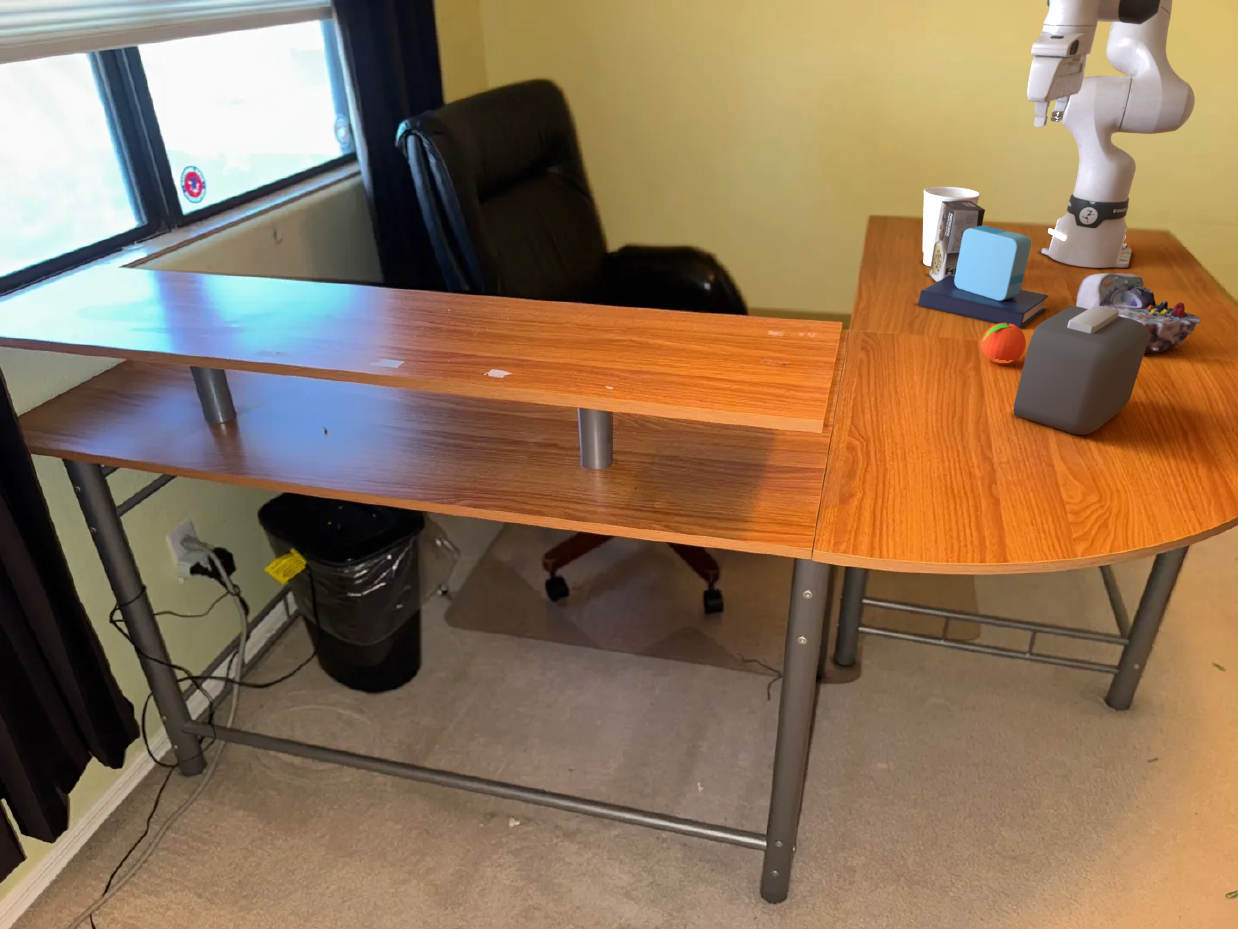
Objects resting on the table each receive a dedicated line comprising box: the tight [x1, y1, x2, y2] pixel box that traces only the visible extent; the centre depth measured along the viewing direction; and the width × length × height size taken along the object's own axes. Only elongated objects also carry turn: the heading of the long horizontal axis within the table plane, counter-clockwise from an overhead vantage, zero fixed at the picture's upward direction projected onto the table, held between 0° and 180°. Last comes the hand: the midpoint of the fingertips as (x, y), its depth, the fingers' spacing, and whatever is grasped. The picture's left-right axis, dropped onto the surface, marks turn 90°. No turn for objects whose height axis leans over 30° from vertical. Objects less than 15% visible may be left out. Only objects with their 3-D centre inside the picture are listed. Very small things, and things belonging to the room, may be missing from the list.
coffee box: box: [929, 201, 986, 283], centre depth 186 cm, size 9×6×16 cm
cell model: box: [1075, 272, 1202, 354], centre depth 157 cm, size 13×11×20 cm
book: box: [917, 275, 1049, 329], centre depth 174 cm, size 14×20×3 cm
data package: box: [954, 225, 1032, 301], centre depth 170 cm, size 12×4×12 cm, turn 34°
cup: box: [922, 186, 981, 267], centre depth 197 cm, size 12×12×16 cm
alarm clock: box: [1013, 305, 1148, 436], centre depth 128 cm, size 16×11×16 cm
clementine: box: [980, 323, 1027, 366], centre depth 147 cm, size 8×7×7 cm
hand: (1047, 123), depth 166 cm, fingers open, 8 cm apart
